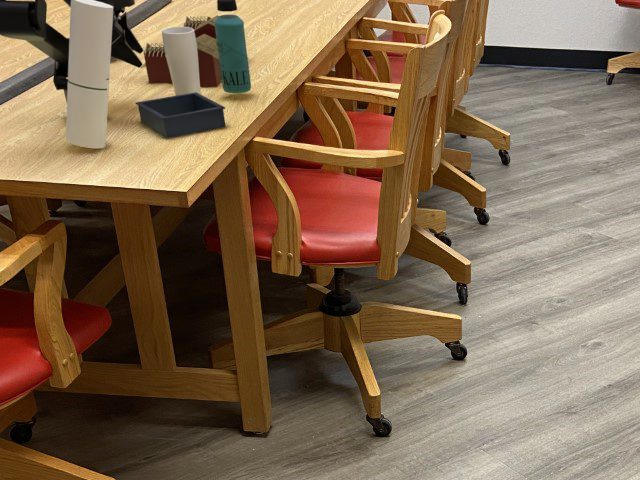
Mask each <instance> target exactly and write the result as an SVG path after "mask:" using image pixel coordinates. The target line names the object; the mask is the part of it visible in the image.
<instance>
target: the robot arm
mask: <svg viewBox="0 0 640 480" xmlns="http://www.w3.org/2000/svg"><path fill="white" fill-rule="evenodd" d="M62 1H63V2H64V3H65V4H66V5H67V6H68V7H69V8H70V9H71V0H62ZM95 1H99V2H102V3H106V4H108V5H111V6H113V23H112V41H111V56H112V57H114V58H115V59H116V60H120V61H122V62H125V63H127V64H129V65H131V66H134V67H136V68H138V69H139V68H140V69H141V66H142V65H143V62H142V61H141V59H140V57H138V55H137V54H136V53H138V54H142V53H144V48H143V47H142V45H141V44H140V42H139V41H138V39H137V37H136V36H135V34H134V33H133V31H132V29H131V27H130V26H129V24H128V13H127V11H126V8H130V7H132V6H134V5H135V4H136V2H135V1H136V0H95ZM47 11H48V3H47V1H46V0H0V36H2V37H4V38H8V39H14V40H20V41H26V42H27V43H29V44H30V45H32V46H34V48H36V49H37V50H39V51H40V52H42V53H44V54H45V55H46V56H48V57H49V58H51V59H52V60H53V61H54V66H53V79H52V80H53V85H54V87H55V89H56V91H60V90H61V91H63V93H64V98H65V102H66V104H67V89H68V63H69V37H66V36H64V35H63V33H61V32H59V31H58V30H56V29H55V28H54V27H53V26H52V25H50V24H49V23H48V22H47V15H48V14H47ZM120 13H121V14H122V15H121V14H120ZM108 119H109V117H108V115H107V120H108Z"/></svg>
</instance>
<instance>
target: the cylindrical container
mask: <svg viewBox="0 0 640 480" xmlns="http://www.w3.org/2000/svg"><path fill="white" fill-rule="evenodd" d="M69 11H70V14H69V15H70V16H69V36H68V38H69V63H68V78H67V79H68V89H67V103H66V117H65V119H66V120H65V141H66V142H67V143H69V144H71V145H74V146H77V147H82V148H87V149H104V148H106V142H107V128H108V126H107V125H108V119H107V116H108V109H109V108H108V107H109V92H110V91H109V89H110V75H111V74H110V72H111V61H110V58H111V41H112V23H113V6H111V5H108V4H106V3H102V2H99V1H95V0H71V8H70V10H69Z"/></svg>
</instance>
